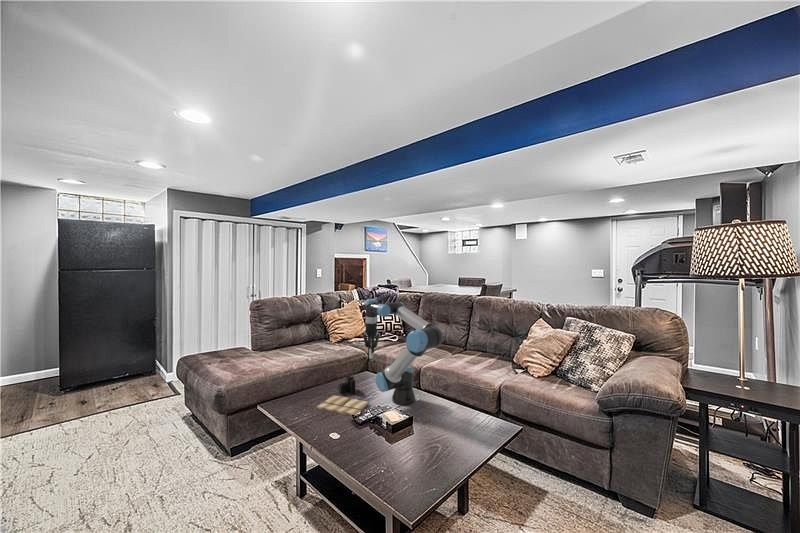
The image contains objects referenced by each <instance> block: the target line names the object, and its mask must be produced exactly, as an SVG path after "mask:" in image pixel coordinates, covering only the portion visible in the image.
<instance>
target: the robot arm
mask: <svg viewBox="0 0 800 533" xmlns="http://www.w3.org/2000/svg"><path fill="white" fill-rule="evenodd" d="M390 315H395V316H397V317H398V318H399V319H400V320H402V321H404V322H405V323H407V324H408V325H409V326H411V327H412V328H414V329H415V330H412V331H410V332H409V333H408V334H407V336H406V338H405V339H406V340H405V346H406V347H405V348H404V349H403V350H402V351H401V352H400V354H399V355H398V356H397V357H396V359H395V360H394V361H393V362H392V363H391V365H388V366H386V367H385V368H384V369H383V370H382V371H381V372H380V371H379V372H378V373H376V375H375V385H376V387H377V388H378V390H379V391H380V392H381V393H382V392H383V393H385V392H389V391H391V390H394V391H393V393H392V396H391V401H392V403H394V404H396V405H398V406H399V405H400V406H409V405H413V404H414V403H415V402H416V394H415V391H414V388H413V387H414V384H413V383H414V382H413V381H414V370H413V369H414V368H413V366H412V364H413V363H414V362H415V360H416V359H417V358H420V357H422V356H424V354H425V353H426V352H427V351H428V350H431V349H435V348H438V347H440V345H441V344H442V343H443V339H444V337H443V336H444V335H443V332H442V330H441V328H440V327H438V326H437V325H436V324H434V323H433V322H428V321H426V320H425V319H423V318H422V317H420V316H419V315H417V314H416V313H415V312H413V311H411V310H410V309H408V308H407V307H406V306H405V303H404V302H403V301H396V302H389V303H388V302H386V303H378V300H377V299H375V298H367V299H366V301H365V330H364V331H363V332H361V335H362V336H363V341H364V347H366V348H367V353H368V358H369V359H370V360H372V359H373V358H374V353H375V349H376V348H377V346H378V344H379V339H380V337H381V333H380V332H378V330H377V329H378V328H377V327H378V323H377V322H378V316H380V317H388V316H390Z"/></svg>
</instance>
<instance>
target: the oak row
mask: <svg viewBox="0 0 800 533" xmlns="http://www.w3.org/2000/svg"><path fill="white" fill-rule="evenodd" d="M316 409H317V410H322V411H326V412H330V413H331V412H332V413H336V414H340V415H346V416H351V417H353V416H352V415H354V414H357V413H359V412H361V411H362V412H363V410H359V409H354V408H349V407H344V405H343V406H338V405H333V404H328V403H324V402H323V401H322V402H321V403H320V404H319V403H318V405H316Z"/></svg>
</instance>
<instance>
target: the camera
mask: <svg viewBox="0 0 800 533" xmlns="http://www.w3.org/2000/svg"><path fill="white" fill-rule="evenodd" d="M350 375H351V374H348V375H345V377H344V382H340V383H338V385H337V389H338V392H339V393H340V394H343V393H349V394H351V395H355V394H356V379H355V378H354V376H350Z"/></svg>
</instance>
